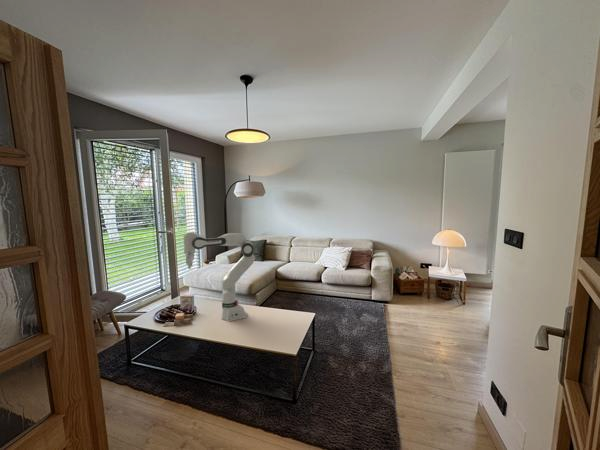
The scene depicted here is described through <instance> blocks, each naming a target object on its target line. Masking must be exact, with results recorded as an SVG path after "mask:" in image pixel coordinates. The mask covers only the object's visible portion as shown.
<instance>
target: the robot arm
mask: <svg viewBox="0 0 600 450" xmlns="http://www.w3.org/2000/svg"><path fill="white" fill-rule="evenodd" d="M183 245H184V246H183V254H184V255H185V265H187V268H188V270H190V269H192V266H193V261H194V260H195V254H196V250H202V249H203V248H205V247H215V246H222V247H223V246H225V247H229V246H230V247H233V246H238V247H240V250H241V253H242V254H243V255H242V257H240V259H239V260H238V261H237V262H236V263H234V265H233V266H232V268H230V270H228V271H226V272H225V273H223V275H222V279H221V285H222V288H221V291H222V292H221V295H222V298H221V299H222V302H221V308H222V310H221V316H220V318H221V319H222V320H223V321H227V322H233V321H239V320H243V319H246V318H248V317H247V316H248V313H247V311H246V310H245V309H244V307H243V306H242V305H241V304H239V301H238V299H236V283H237V282H238V281H239V280H240V279H241V277H242V276H243V275H244V274H245V273H246V272H247V271H248V270H249V269H250V267H251V266H252V265H253V263H254V262H255V261H256V257H255V255H254V251H255V248H254V243H252V241H250V240H247V239H246V235H245V234H243V233H240V232H233V233H232V232H230V233H225V234H222V235H220V236H218V237H212V238H207V237H206V236H204V235H203V234H202V235H201V234H198V233H196V232H195V231H188V232H186V233H184V235H183ZM242 318H243V319H242Z"/></svg>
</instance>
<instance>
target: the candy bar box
mask: <svg viewBox="0 0 600 450" xmlns="http://www.w3.org/2000/svg"><path fill="white" fill-rule="evenodd" d="M179 301H180V309H181V308H182V309H188V310H191V311H192V310H194V311H195V294H186V293H185V294H181V295H180V296H179Z"/></svg>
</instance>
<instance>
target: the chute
mask: <svg viewBox="0 0 600 450" xmlns="http://www.w3.org/2000/svg"><path fill="white" fill-rule="evenodd" d="M184 318H185V319H179V320H175V319H173V320H174V322H166V321H165V323H164V325H163V327H165V328H166V327H174V326H183V325H185V326H186V325H192V323H193V322H192V321H193V320H194V313H192V314H189V313H187V314H184Z"/></svg>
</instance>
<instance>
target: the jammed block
mask: <svg viewBox="0 0 600 450" xmlns="http://www.w3.org/2000/svg"><path fill="white" fill-rule="evenodd" d="M184 315H185V313H181V312H180V313H179V312H178V313H176V314H175V316H174V317H175V318H174V320H179V319H185V318H184Z"/></svg>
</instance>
